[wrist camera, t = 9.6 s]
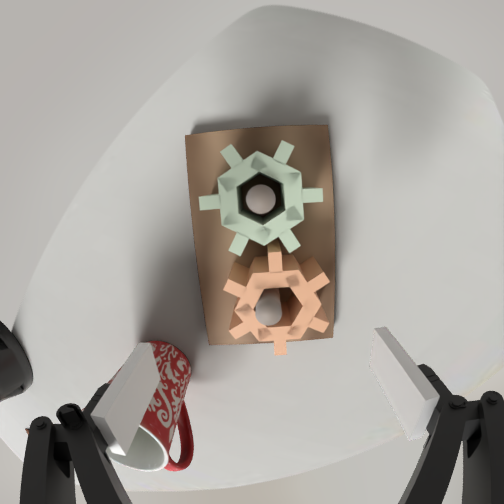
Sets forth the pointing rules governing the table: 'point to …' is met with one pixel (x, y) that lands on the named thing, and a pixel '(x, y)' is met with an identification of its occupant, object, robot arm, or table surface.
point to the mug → (162, 416)
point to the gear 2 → (293, 311)
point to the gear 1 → (252, 223)
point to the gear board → (261, 203)
